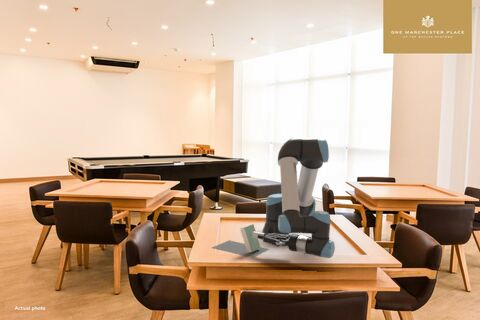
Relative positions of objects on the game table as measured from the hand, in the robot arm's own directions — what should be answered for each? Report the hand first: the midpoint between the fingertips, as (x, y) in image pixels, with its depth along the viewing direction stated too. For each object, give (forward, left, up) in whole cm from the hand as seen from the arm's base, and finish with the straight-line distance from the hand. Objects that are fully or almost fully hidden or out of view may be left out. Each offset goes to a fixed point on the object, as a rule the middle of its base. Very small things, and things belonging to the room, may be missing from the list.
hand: (253, 234), depth 178 cm
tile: (0, +1, -8) cm, 8 cm away
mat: (-6, -5, -9) cm, 12 cm away
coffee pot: (-44, +28, -9) cm, 53 cm away
